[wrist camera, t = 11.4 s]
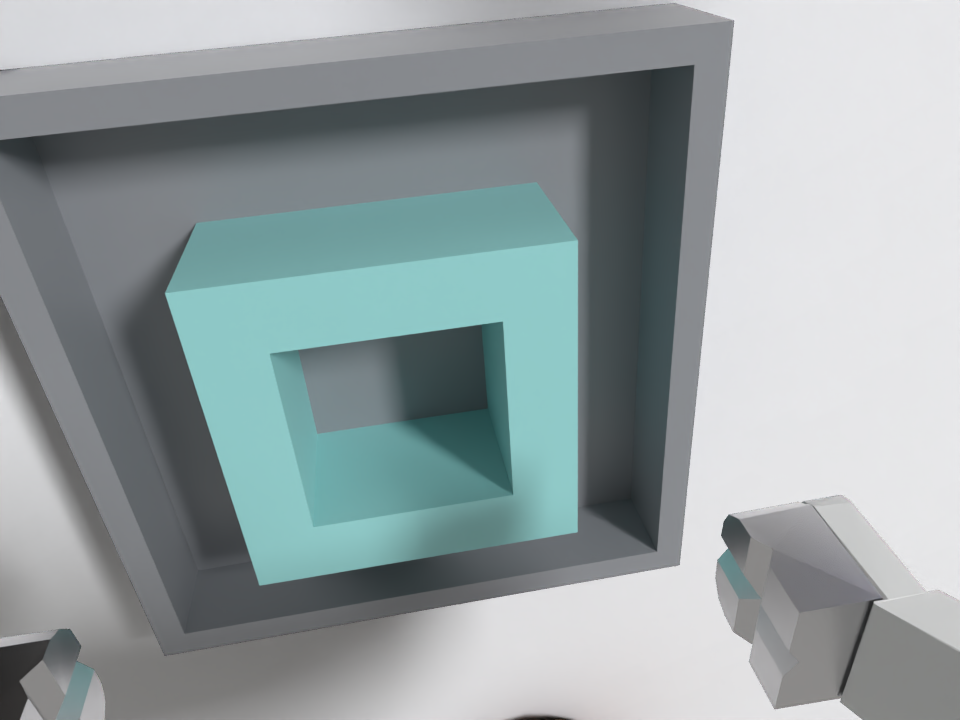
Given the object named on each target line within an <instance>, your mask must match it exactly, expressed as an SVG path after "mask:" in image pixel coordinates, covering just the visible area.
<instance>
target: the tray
mask: <svg viewBox="0 0 960 720" xmlns="http://www.w3.org/2000/svg"><path fill="white" fill-rule="evenodd" d="M733 27H734V20H730V19H727V18H724V17H720V16H717V15H713V14H710V13H707V12H703V11H700V10H696V9H693V8H690V7H686V6H683V5H679V4H676V3H670V4H660V5H650V6H640V7H630V8H620V9H609V10H599V11H589V12H579V13H569V14H559V15H549V16H539V17H529V18H519V19H509V20H499V21H489V22H479V23H469V24H459V25H449V26H439V27H429V28H419V29H409V30H399V31H389V32H378V33H368V34H358V35H348V36H338V37H328V38H318V39H308V40H298V41H288V42H278V43H268V44H258V45H248V46H238V47H228V48H218V49H208V50H198V51H188V52H178V53H168V54H158V55H148V56H137V57H127V58H117V59H107V60H97V61H87V62H77V63H67V64H57V65H47V66H37V67H27V68H17V69H7V70H0V296H1V298H2V300H3V302H4V305H5V307H6V309H7V311H8V313H9V316H10V318H11V320H12V322H13V324H14V327H15V329H16V331H17V333H18V335H19V337H20V340H21V342H22V344H23V346H24V348H25V351H26V353H27V355H28V357H29V359H30V362H31V364H32V366H33V368H34V370H35V373H36V375H37V377H38V379H39V381H40V384H41V386H42V388H43V390H44V392H45V394H46V397H47V399H48V401H49V403H50V405H51V408H52V410H53V412H54V414H55V416H56V419H57V421H58V423H59V425H60V427H61V430H62V432H63V434H64V436H65V438H66V441H67V443H68V445H69V447H70V449H71V451H72V454H73V456H74V458H75V460H76V462H77V465H78V467H79V469H80V471H81V473H82V476H83V478H84V480H85V482H86V484H87V487H88V489H89V491H90V493H91V495H92V498H93V500H94V502H95V504H96V506H97V508H98V511H99V513H100V515H101V517H102V519H103V522H104V524H105V526H106V528H107V530H108V533H109V535H110V537H111V539H112V541H113V544H114V546H115V548H116V550H117V552H118V554H119V557H120V559H121V561H122V563H123V565H124V568H125V570H126V572H127V574H128V576H129V579H130V581H131V583H132V585H133V587H134V590H135V592H136V594H137V596H138V598H139V601H140V603H141V605H142V607H143V609H144V611H145V614H146V616H147V618H148V620H149V622H150V625H151V627H152V629H153V631H154V633H155V636H156V638H157V640H158V642H159V644H160V647H161V649H162V651H163V653H164V655H165V656H167V655H173V654H178V653H184V652H190V651H195V650H201V649H207V648H212V647H218V646H224V645H229V644H235V643H241V642H246V641H252V640H258V639H263V638H269V637H275V636H280V635H286V634H292V633H297V632H303V631H309V630H314V629H320V628H326V627H331V626H337V625H343V624H348V623H354V622H360V621H365V620H371V619H377V618H382V617H388V616H394V615H400V614H405V613H411V612H417V611H422V610H428V609H434V608H439V607H445V606H451V605H456V604H462V603H468V602H473V601H479V600H485V599H490V598H496V597H502V596H507V595H513V594H519V593H524V592H530V591H536V590H541V589H547V588H553V587H558V586H564V585H570V584H575V583H581V582H587V581H592V580H598V579H604V578H609V577H615V576H621V575H626V574H632V573H638V572H643V571H649V570H655V569H660V568H666V567H672V566H677V565H680V556H681V546H682V536H683V526H684V516H685V506H686V496H687V486H688V476H689V466H690V456H691V446H692V436H693V426H694V416H695V406H696V396H697V386H698V376H699V366H700V356H701V346H702V336H703V326H704V316H705V306H706V296H707V287H708V277H709V267H710V257H711V247H712V237H713V227H714V217H715V207H716V197H717V187H718V177H719V167H720V157H721V147H722V137H723V127H724V117H725V107H726V97H727V87H728V77H729V67H730V57H731V47H732V37H733ZM535 182H537V183H538V185H539V186H540V188H541V189H542V190H543V192H544V193H545V195H546V196H547V197H548V199H549V200H550V202H551V203H552V204H553V206H554V207H555V209H556V210H557V212H558V213H559V214H560V216H561V217H562V219H563V220H564V221H565V223H566V224H567V226H568V227H569V228H570V230H571V231H572V233H573V234H574V235H575V237H576V238H577V240H578V532H576V533H570V534H564V535H558V536H552V537H547V538H541V539H535V540H529V541H523V542H517V543H511V544H505V545H499V546H493V547H487V548H481V549H475V550H469V551H463V552H457V553H451V554H445V555H439V556H434V557H428V558H422V559H416V560H410V561H404V562H398V563H392V564H386V565H380V566H374V567H368V568H362V569H356V570H350V571H344V572H338V573H332V574H326V575H321V576H315V577H309V578H303V579H297V580H291V581H285V582H279V583H273V584H267V585H261V586H260V585H259V582H258V579H257V576H256V573H255V570H254V567H253V564H252V561H251V558H250V555H249V551H248V548H247V545H246V542H245V539H244V536H243V533H242V530H241V527H240V524H239V521H238V518H237V514H236V511H235V508H234V505H233V502H232V499H231V496H230V493H229V490H228V487H227V484H226V480H225V477H224V474H223V471H222V468H221V465H220V462H219V459H218V456H217V453H216V450H215V446H214V443H213V440H212V437H211V434H210V431H209V428H208V425H207V422H206V419H205V416H204V412H203V409H202V406H201V403H200V400H199V397H198V394H197V391H196V388H195V385H194V382H193V378H192V375H191V372H190V369H189V366H188V363H187V360H186V357H185V354H184V351H183V348H182V345H181V341H180V338H179V335H178V332H177V329H176V326H175V323H174V320H173V317H172V314H171V311H170V307H169V304H168V301H167V298H166V295H165V292H166V290H167V288H168V285H169V283H170V281H171V279H172V276H173V274H174V272H175V270H176V268H177V265H178V263H179V261H180V259H181V256H182V254H183V252H184V250H185V247H186V245H187V243H188V241H189V239H190V236H191V234H192V232H193V230H194V227H195V225H196V223H201V222H209V221H218V220H226V219H234V218H243V217H251V216H259V215H268V214H276V213H284V212H293V211H301V210H309V209H318V208H326V207H334V206H343V205H351V204H359V203H368V202H376V201H384V200H393V199H401V198H409V197H418V196H426V195H434V194H443V193H451V192H459V191H468V190H476V189H485V188H493V187H501V186H510V185H518V184H526V183H535ZM298 352H299V356H300V361H301V365H302V369H303V374H304V378H305V382H306V387H307V391H308V396H309V400H310V404H311V409H312V413H313V417H314V422H315V426H316V430H317V434H320V433H327V432H334V431H340V430H347V429H354V428H360V427H367V426H374V425H380V424H387V423H394V422H400V421H407V420H414V419H421V418H427V417H434V416H441V415H447V414H454V413H461V412H467V411H474V410H481V409H487V408H488V404H487V391H486V378H485V365H484V352H483V339H482V326H481V325H474V326H467V327H459V328H452V329H445V330H438V331H430V332H423V333H416V334H409V335H402V336H394V337H387V338H380V339H373V340H365V341H358V342H351V343H344V344H336V345H329V346H322V347H315V348H307V349H300V350H298Z"/></svg>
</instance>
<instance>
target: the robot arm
mask: <svg viewBox="0 0 960 720" xmlns="http://www.w3.org/2000/svg"><path fill="white" fill-rule="evenodd" d="M721 536H722V538H723V540H724V542H725V543H726V545H727V547H728V549H727V550H726V551H725V552H724V553H723V555H722V556H721V557H720V558H719V559H718V560H717V568H716V578H715V579H716V585H717V591H718V598H719V601H720V604H721V607H722V609H723V612H724V615H725V617H726V619H727V621H728V623H729V625H730V627H731V629H732V631H733V632H734V633H736V634H737V635H739V636H740V637H742V638H743V639H745V640H746V641H748V642H750V643H751V644H752V649H751V654H750V659H749V663H750V665H751V667H752V668H753V670H754V672H755V674H756V676H757V678H758V680H759V681H760V683H761V685H762V687H763V689H764V691H765V693H766V695H767V696H768V698H769V700H770V702H771V704H772V706H773V708H774V709H779V708H785V707H791V706H797V705H803V704H809V703H815V702H821V701H827V700H833V699H839V698H841V701H840V702H841V703H842V704H843V705H845V706H846V707H847V708H848V709H850V710H851V711H852V712H854V713H855V714H856V715H857V716H859V717H860V718H861V719H862V720H960V601H959V600H957V599H956V598H954V597H952V596H950V595H948V594H946V593H944V592H942V591H940V590H935V591H928V592H927V591H926V589H925V588H924V587H923V586H922V585H921V584H920V582H919V581H918V580H917V579H916V578H915V576H914V575H913V574H912V573H911V572H910V571H909V569H908V568H907V567H906V566H905V565H904V563H903V562H902V561H901V560H900V559H899V557H898V556H897V555H896V554H895V553H894V552H893V550H892V549H891V548H890V547H889V546H888V544H887V543H886V542H885V541H884V540H883V538H882V537H881V536H880V535H879V534H878V533H877V531H876V530H875V529H874V528H873V527H872V525H871V524H870V523H869V522H868V521H867V519H866V518H865V517H864V516H863V515H862V514H861V512H860V511H859V510H858V509H857V508H856V506H855V505H854V504H853V503H852V502H851V501H850V500H849V499H847V498H846V497H844V496H842V495H837V496H831V497H826V498H820V499H814V500H808V501H803V502H794V503H789V504H783V505H778V506H772V507H767V508H761V509H756V510H751V511H745V512H740V513H734V514H729V515H728V516H727V518H726V519H725V521H724V523H723V529H722V534H721ZM80 649H81V645H80V644H79V642H78V640H77V639H76V637H75V636H74V634H73V633H72V631H71V630H70V629H58V630H51V631H44V632H37V633H30V634H23V635H16V636H9V637H3V638H0V720H105V702H106V700H105V695H104V691H103V687H102V683H101V681H100V679H99V677H98V675H97V673H96V671H95V670H94V669H92V668H90V667H88V666H86V665H84V664H82V663H80V662H78V661H77V658H78V655H79V652H80Z"/></svg>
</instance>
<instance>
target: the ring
mask: <svg viewBox="0 0 960 720" xmlns="http://www.w3.org/2000/svg"><path fill="white" fill-rule="evenodd" d="M165 295H166V298H167V301H168V304H169V307H170V311H171V314H172V317H173V320H174V323H175V326H176V329H177V332H178V335H179V338H180V341H181V345H182V348H183V351H184V354H185V357H186V360H187V363H188V366H189V369H190V372H191V375H192V378H193V382H194V385H195V388H196V391H197V394H198V397H199V400H200V403H201V406H202V409H203V412H204V416H205V419H206V422H207V425H208V428H209V431H210V434H211V437H212V440H213V443H214V446H215V450H216V453H217V456H218V459H219V462H220V465H221V468H222V471H223V474H224V477H225V480H226V484H227V487H228V490H229V493H230V496H231V499H232V502H233V505H234V508H235V511H236V514H237V518H238V521H239V524H240V527H241V530H242V533H243V536H244V539H245V542H246V545H247V548H248V551H249V555H250V558H251V561H252V564H253V567H254V570H255V573H256V576H257V579H258V582H259V585H260V586H261V585H267V584H273V583H279V582H285V581H291V580H297V579H303V578H309V577H315V576H321V575H326V574H332V573H338V572H344V571H350V570H356V569H362V568H368V567H374V566H380V565H386V564H392V563H398V562H404V561H410V560H416V559H422V558H428V557H434V556H439V555H445V554H451V553H457V552H463V551H469V550H475V549H481V548H487V547H493V546H499V545H505V544H511V543H517V542H523V541H529V540H535V539H541V538H547V537H552V536H558V535H564V534H570V533H576V532H578V240H577V238H576V237H575V235H574V234H573V233H572V231H571V230H570V228H569V227H568V226H567V224H566V223H565V221H564V220H563V219H562V217H561V216H560V214H559V213H558V212H557V210H556V209H555V207H554V206H553V204H552V203H551V202H550V200H549V199H548V197H547V196H546V195H545V193H544V192H543V190H542V189H541V188H540V186H539V185H538V183H537V182H535V183H526V184H518V185H510V186H501V187H493V188H485V189H476V190H468V191H459V192H451V193H443V194H434V195H426V196H418V197H409V198H401V199H393V200H384V201H376V202H368V203H359V204H351V205H343V206H334V207H326V208H318V209H309V210H301V211H293V212H284V213H276V214H268V215H259V216H251V217H243V218H234V219H226V220H218V221H209V222H201V223H196V225H195V227H194V230H193V232H192V234H191V236H190V239H189V241H188V243H187V245H186V247H185V250H184V252H183V254H182V256H181V259H180V261H179V263H178V265H177V268H176V270H175V272H174V274H173V276H172V279H171V281H170V283H169V285H168V288H167V290H166V292H165ZM474 325H481V326H482V339H483V352H484V365H485V378H486V391H487V404H488V408H487V409H481V410H474V411H467V412H461V413H454V414H447V415H441V416H434V417H427V418H421V419H414V420H407V421H400V422H394V423H387V424H380V425H374V426H367V427H360V428H354V429H347V430H340V431H334V432H327V433H320V434H317V430H316V426H315V422H314V417H313V413H312V409H311V404H310V400H309V396H308V391H307V387H306V382H305V378H304V374H303V369H302V365H301V361H300V356H299V352H298V350H300V349H307V348H315V347H322V346H329V345H336V344H344V343H351V342H358V341H365V340H373V339H380V338H387V337H394V336H402V335H409V334H416V333H423V332H430V331H438V330H445V329H452V328H459V327H467V326H474Z"/></svg>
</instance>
